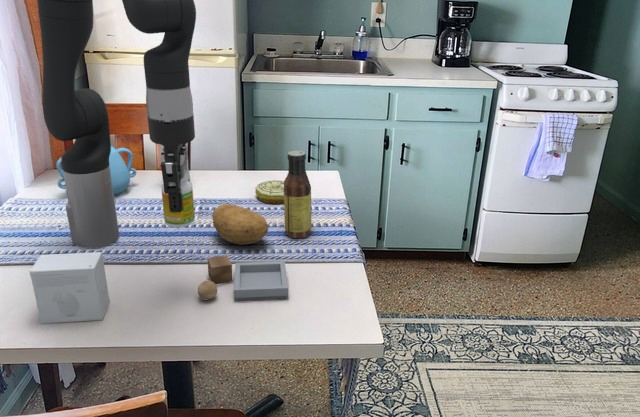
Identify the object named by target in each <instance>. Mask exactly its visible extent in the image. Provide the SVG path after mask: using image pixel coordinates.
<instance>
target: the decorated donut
mask: <svg viewBox="0 0 640 417" xmlns="http://www.w3.org/2000/svg"><path fill="white" fill-rule="evenodd" d="M284 181H285V180H275V179H274V180H267V181H263V182H260V183H258V184H257V185H256V186H255V192H254V193H255V195H256V197H257V198H258V199H259V200H260V201H262V202H264V203H268V204H284Z"/></svg>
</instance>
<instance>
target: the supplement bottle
mask: <svg viewBox="0 0 640 417" xmlns="http://www.w3.org/2000/svg"><path fill="white" fill-rule="evenodd" d="M179 173H180V172H178V174H179ZM187 179H188V176H187V171H186V170H184V178H183V179H182V180H181V184H182V204H183V210H182V212H170V209H169V199H168V194H165V192H164V184H163V183H162V185H161V196H162V197H161V198H162V209H163V218H164V224H166V226H168V227H171V228H184V227H185V228H186V227H188V226H190V225H192V224H193V223H194V222H195V205H194V203H195V202H194V191H193V185H192V183H191V181H190V182H189V181H187ZM170 186H176V184H175V183H174V182H170Z"/></svg>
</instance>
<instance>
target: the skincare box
mask: <svg viewBox="0 0 640 417" xmlns="http://www.w3.org/2000/svg"><path fill="white" fill-rule="evenodd" d="M29 276H30V279H31V283H32V287H33V292H34V297H35V301H36V305H37V310H38V315H39V322H40V325H41V324H42V325H44V324H45V325H46V324H58V323H72V322H75V323H76V322H87V321H88V322H89V321H103V319H104V317H105V315H106V312H107V310H108V306H109V303H110V301H111V300H110V295H109V294H110V293H109V288H108V281H107V274H106V269H105V263H104V256H103V251H96V252H75V253H57V254H56V253H55V254H41V255H39V257H38V258H37V260H35V263H34V264H33V265H32V267H31V268H30V270H29Z"/></svg>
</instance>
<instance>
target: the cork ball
mask: <svg viewBox="0 0 640 417" xmlns="http://www.w3.org/2000/svg"><path fill="white" fill-rule="evenodd" d="M217 293H218V287H217V284H215V283H214V282H212V281H211V280H210V279H209V280H203V281H201V282H200V283H199V284H198V286H197V295H198V296H199V297H200V298H201V299H202V300H204V301H208V300H213V299H214V298H215V297H216V295H217Z"/></svg>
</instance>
